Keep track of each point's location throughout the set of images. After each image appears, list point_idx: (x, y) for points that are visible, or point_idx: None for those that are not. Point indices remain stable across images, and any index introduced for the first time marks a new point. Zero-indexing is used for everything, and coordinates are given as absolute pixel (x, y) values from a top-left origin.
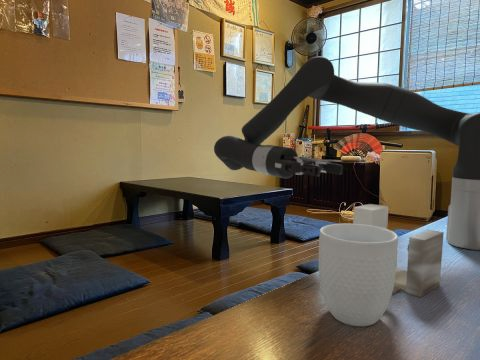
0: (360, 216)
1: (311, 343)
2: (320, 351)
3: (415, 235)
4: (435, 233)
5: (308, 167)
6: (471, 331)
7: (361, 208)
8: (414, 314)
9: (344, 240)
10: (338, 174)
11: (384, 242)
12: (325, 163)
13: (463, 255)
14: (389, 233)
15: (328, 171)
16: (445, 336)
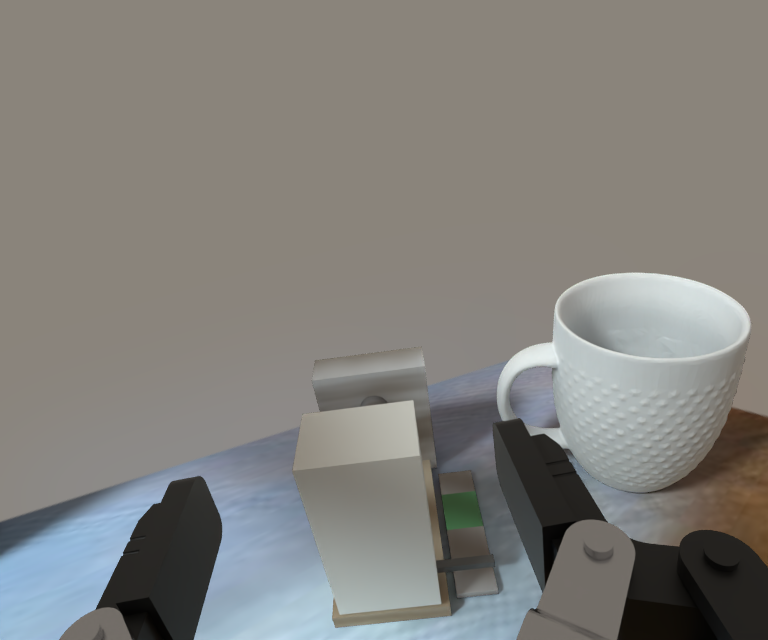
0: (420, 455)
1: (765, 436)
2: (755, 419)
3: (399, 366)
4: (341, 361)
5: (577, 479)
6: (476, 373)
7: (415, 431)
8: None
9: (718, 290)
10: (220, 539)
11: (636, 273)
12: (129, 636)
13: (66, 519)
14: (565, 302)
15: (187, 629)
16: (523, 379)
